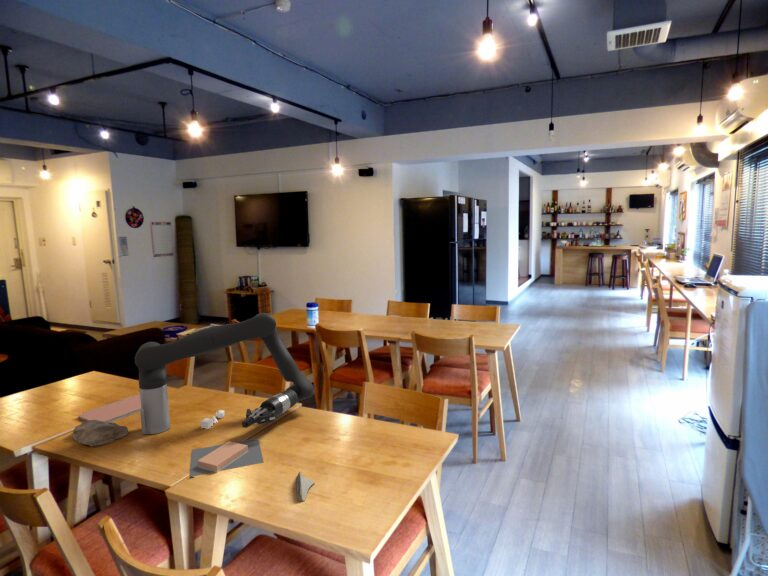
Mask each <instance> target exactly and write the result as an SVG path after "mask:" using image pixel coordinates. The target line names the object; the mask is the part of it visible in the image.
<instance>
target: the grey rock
mask: <svg viewBox="0 0 768 576" xmlns="http://www.w3.org/2000/svg"><path fill="white" fill-rule="evenodd" d="M128 429H129V428H128V427H127V426H126V425H120V424H118V423H116V422H106V421H98V420H89V421H84V422H82V423H81V424H79V425H76V426H75V427H74V429H73V430H72V438H73V440H75V441H76V442H77V443H78V444H79V443H80V444H81V445H86V446H90V447H97V446H105V445H106V444H109V443H112V442H114V441H115V440H118V439H122V438H124V437H127V436H128V435H129V430H128Z"/></svg>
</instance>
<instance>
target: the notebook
mask: <svg viewBox="0 0 768 576" xmlns="http://www.w3.org/2000/svg"><path fill="white" fill-rule="evenodd" d="M140 409H141V401H140V394H136V395H132V396H129V397H126V398H122V399H120V400H117V401H114V402H112V403H111V402H110V403H108V404H104V405H103V406H99V407H96V408H93V409H90V410H87V411H85V412H83V413H81V414H78V415H77V417H78V419H80V420H82V421H84V422H86V421H89V420H98V421H106V422H112V423H114V422H115V421H117V420H120V419H123V418H125V417H128V415H129V416H130V415H131V414H132V415H134V414H137V413H140V412H139V411H140ZM136 412H137V413H136Z"/></svg>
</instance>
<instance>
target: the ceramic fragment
mask: <svg viewBox="0 0 768 576" xmlns="http://www.w3.org/2000/svg"><path fill="white" fill-rule="evenodd" d="M315 483H316V482H314V481H312V480H311V479H310V478H307V477H304V476H303V475H302V472H301V471H298V474H297V476H296V491H297V500H298V501H300V502H302V503H303V502H305V501H306V497H307V494H308V492H309V490H310V489H311V488H312V487H313V486H314V485H315Z"/></svg>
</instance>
